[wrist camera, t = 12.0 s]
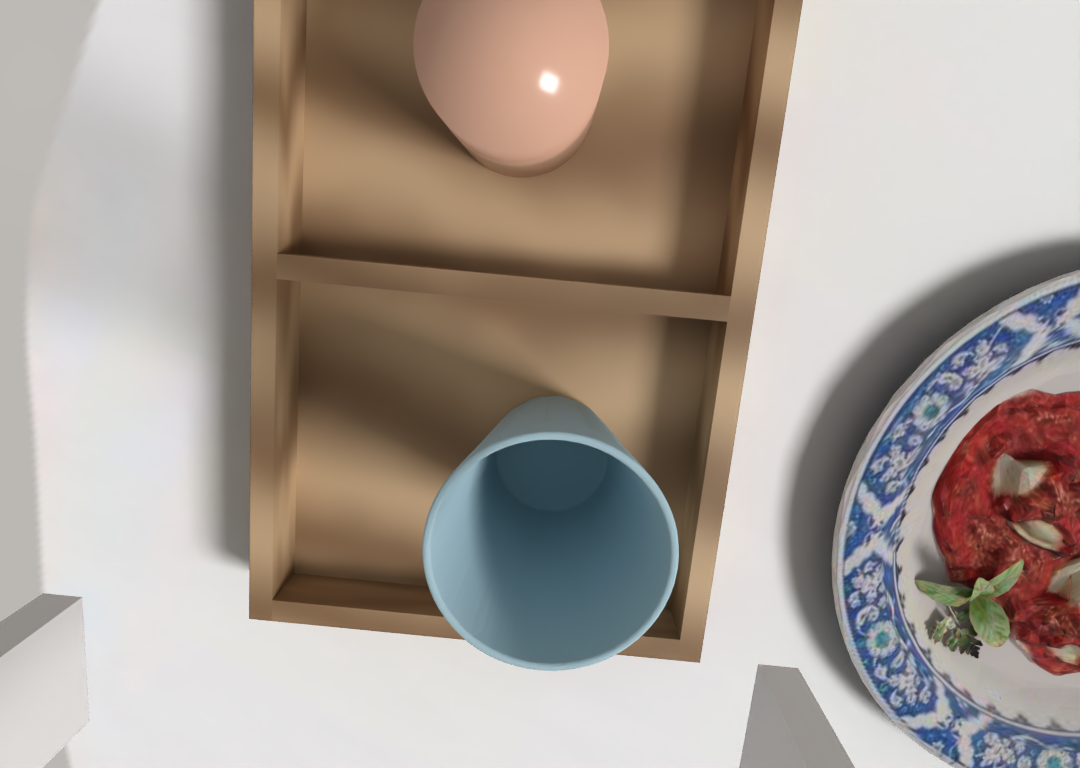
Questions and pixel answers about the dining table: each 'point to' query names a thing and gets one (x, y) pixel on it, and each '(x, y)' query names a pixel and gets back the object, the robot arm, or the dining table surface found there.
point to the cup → (550, 541)
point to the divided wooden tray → (495, 291)
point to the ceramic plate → (974, 541)
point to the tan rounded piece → (513, 76)
